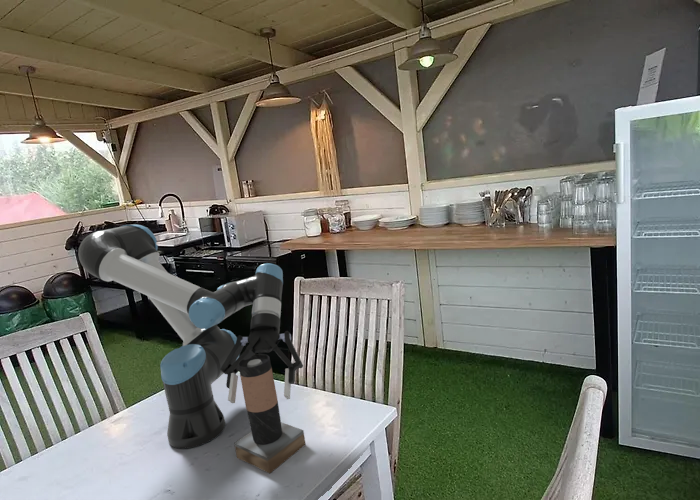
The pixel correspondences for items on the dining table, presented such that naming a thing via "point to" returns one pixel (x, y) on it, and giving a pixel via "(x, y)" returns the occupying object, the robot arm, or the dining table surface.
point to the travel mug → (260, 398)
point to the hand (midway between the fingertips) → (259, 399)
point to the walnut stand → (270, 448)
